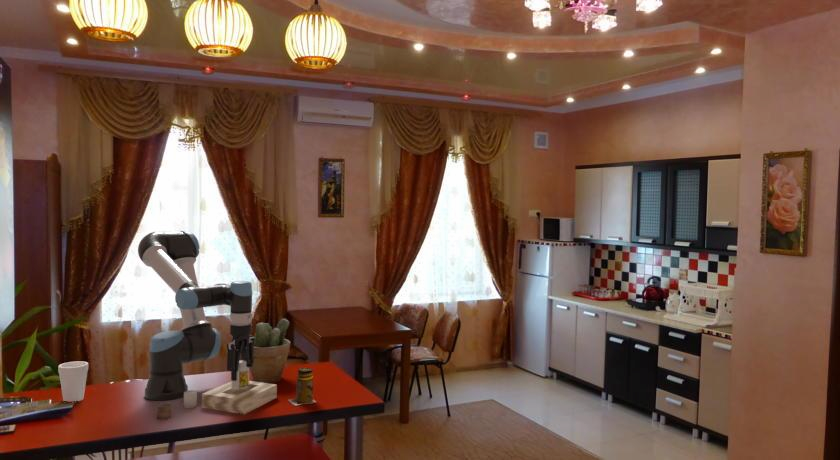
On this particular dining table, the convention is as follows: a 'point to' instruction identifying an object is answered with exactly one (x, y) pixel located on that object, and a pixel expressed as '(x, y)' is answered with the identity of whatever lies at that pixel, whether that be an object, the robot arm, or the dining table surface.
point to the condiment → (304, 387)
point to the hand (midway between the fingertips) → (240, 386)
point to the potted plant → (270, 352)
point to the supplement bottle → (243, 374)
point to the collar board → (239, 397)
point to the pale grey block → (190, 399)
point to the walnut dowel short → (163, 411)
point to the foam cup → (73, 380)
